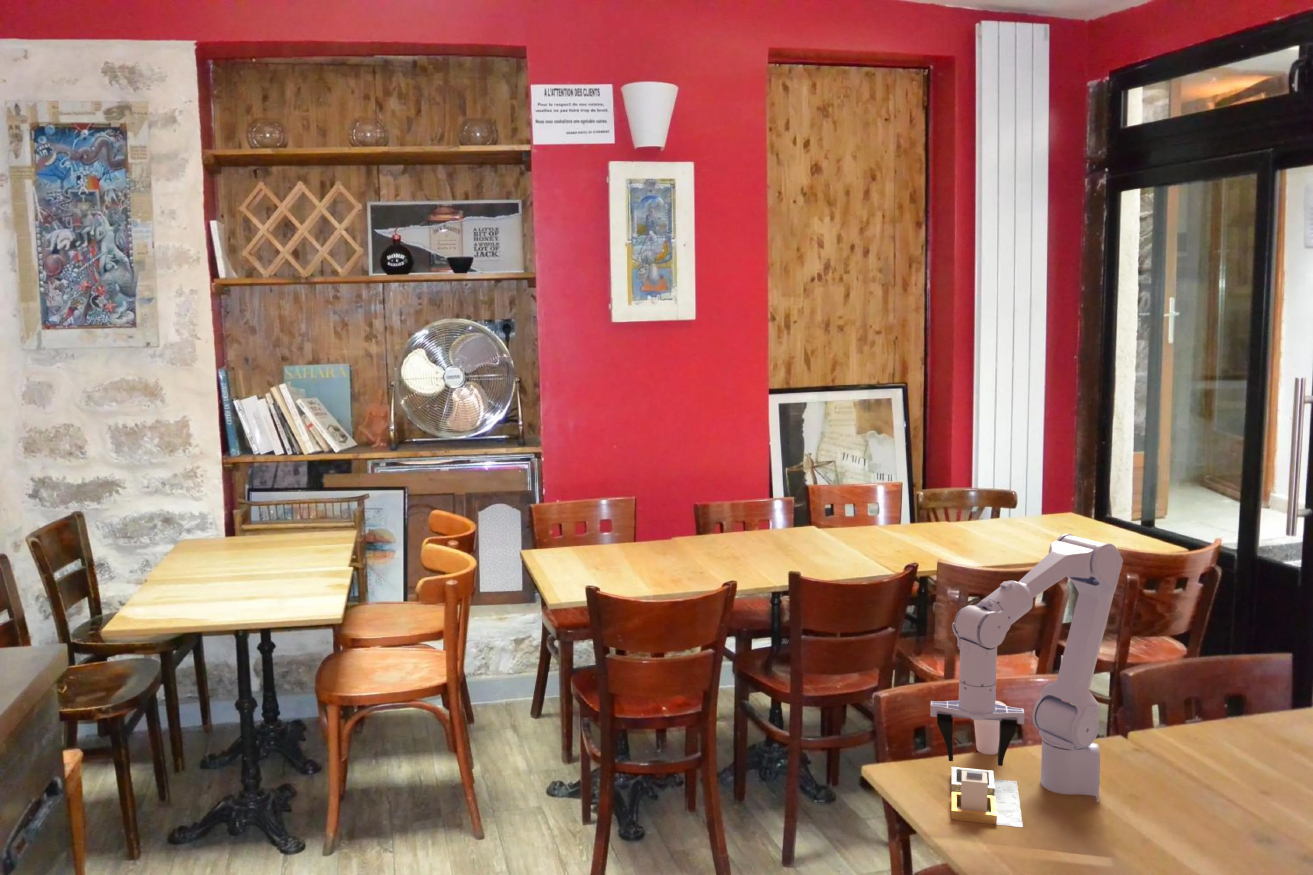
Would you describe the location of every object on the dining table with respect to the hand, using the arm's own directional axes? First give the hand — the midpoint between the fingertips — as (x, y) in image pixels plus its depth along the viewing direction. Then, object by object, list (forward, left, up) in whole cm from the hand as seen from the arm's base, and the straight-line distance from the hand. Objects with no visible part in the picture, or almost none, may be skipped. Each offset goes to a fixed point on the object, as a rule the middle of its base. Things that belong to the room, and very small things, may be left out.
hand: (975, 760), depth 180 cm
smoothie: (-3, -26, -10) cm, 28 cm away
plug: (0, 0, -9) cm, 9 cm away
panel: (-2, -5, -10) cm, 11 cm away
